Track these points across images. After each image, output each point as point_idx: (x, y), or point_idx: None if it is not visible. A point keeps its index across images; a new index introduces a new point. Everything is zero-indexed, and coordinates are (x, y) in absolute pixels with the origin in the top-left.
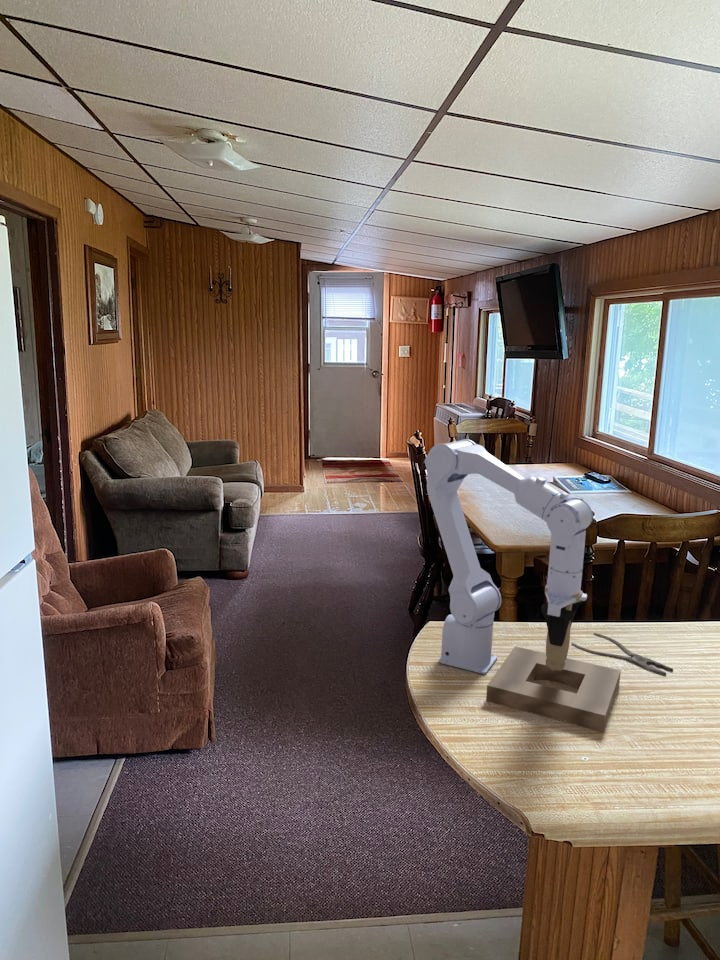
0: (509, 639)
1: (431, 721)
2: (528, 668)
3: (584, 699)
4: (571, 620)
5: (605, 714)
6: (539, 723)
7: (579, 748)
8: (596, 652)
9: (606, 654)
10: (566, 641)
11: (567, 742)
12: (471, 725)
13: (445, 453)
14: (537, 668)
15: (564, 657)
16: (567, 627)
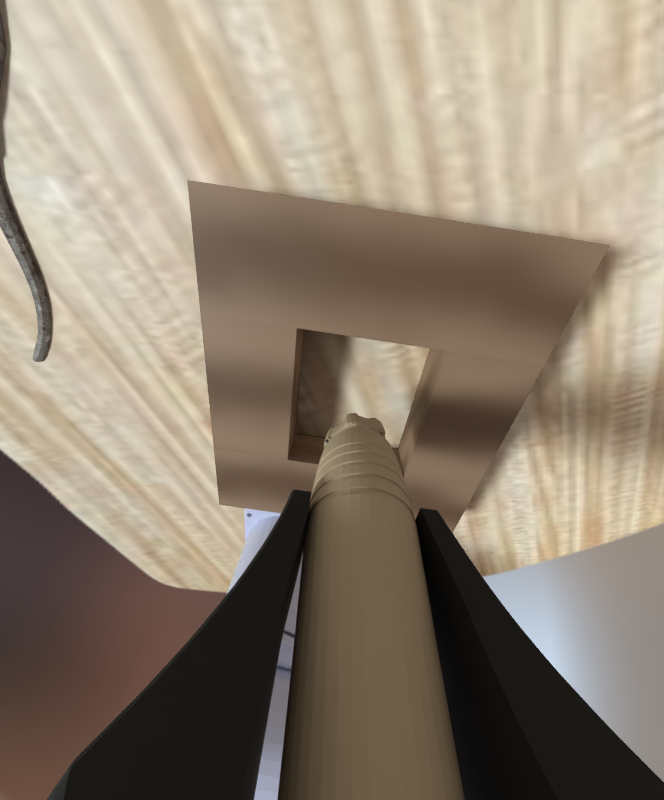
0: (137, 489)
1: (530, 563)
2: None
3: (487, 325)
4: (287, 582)
5: (601, 244)
6: (522, 412)
7: (653, 315)
8: (35, 284)
9: (21, 248)
10: (399, 504)
11: (618, 347)
12: (540, 518)
13: None
14: (290, 446)
15: (385, 446)
16: (504, 636)
